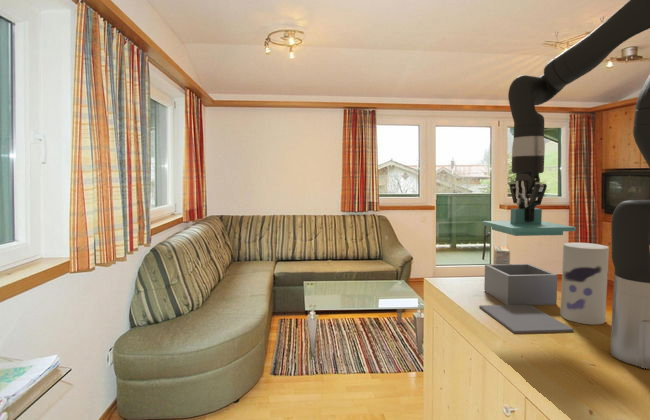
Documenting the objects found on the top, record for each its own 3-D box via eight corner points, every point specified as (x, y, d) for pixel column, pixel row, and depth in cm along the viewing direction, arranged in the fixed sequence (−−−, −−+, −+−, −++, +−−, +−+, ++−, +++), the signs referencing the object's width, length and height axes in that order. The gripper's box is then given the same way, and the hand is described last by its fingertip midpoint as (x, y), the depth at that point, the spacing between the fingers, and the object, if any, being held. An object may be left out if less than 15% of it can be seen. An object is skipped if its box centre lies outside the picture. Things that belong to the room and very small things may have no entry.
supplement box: (492, 281, 142) (493, 245, 141) (506, 282, 141) (507, 246, 139) (494, 286, 134) (495, 249, 133) (509, 288, 133) (510, 250, 132)
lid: (575, 236, 95) (576, 210, 94) (512, 237, 94) (512, 211, 93) (536, 227, 110) (537, 206, 110) (482, 228, 110) (482, 207, 109)
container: (561, 321, 102) (565, 246, 100) (559, 309, 111) (562, 240, 109) (608, 327, 97) (612, 249, 96) (601, 315, 106) (605, 243, 104)
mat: (573, 331, 95) (573, 329, 95) (514, 333, 94) (514, 330, 94) (529, 306, 114) (529, 304, 114) (479, 307, 113) (479, 305, 113)
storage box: (556, 304, 115) (557, 274, 115) (507, 305, 115) (508, 275, 114) (527, 290, 130) (528, 263, 130) (484, 291, 130) (484, 264, 129)
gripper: (559, 153, 94) (556, 223, 95) (526, 156, 108) (524, 218, 109) (529, 153, 93) (527, 224, 95) (500, 156, 107) (498, 218, 109)
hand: (525, 220), depth 102 cm, fingers closed on lid, 2 cm apart
